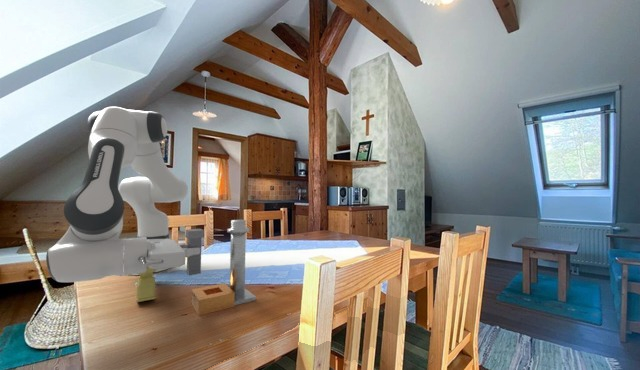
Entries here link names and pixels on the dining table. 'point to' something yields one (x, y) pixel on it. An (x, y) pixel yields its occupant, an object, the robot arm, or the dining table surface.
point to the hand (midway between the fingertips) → (197, 248)
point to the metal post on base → (236, 294)
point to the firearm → (146, 286)
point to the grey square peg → (194, 241)
